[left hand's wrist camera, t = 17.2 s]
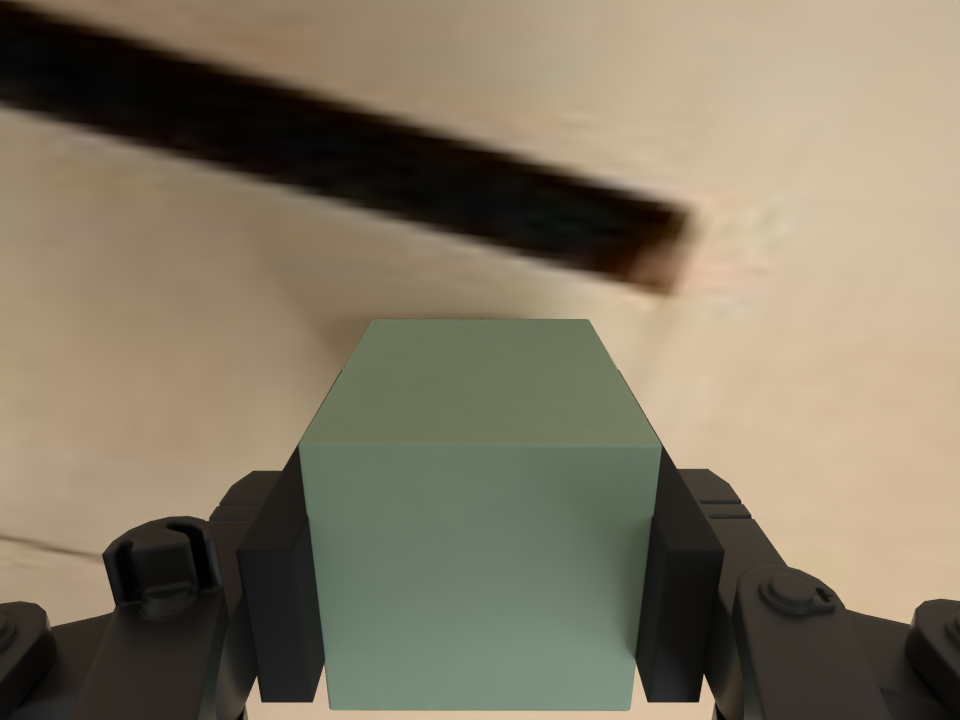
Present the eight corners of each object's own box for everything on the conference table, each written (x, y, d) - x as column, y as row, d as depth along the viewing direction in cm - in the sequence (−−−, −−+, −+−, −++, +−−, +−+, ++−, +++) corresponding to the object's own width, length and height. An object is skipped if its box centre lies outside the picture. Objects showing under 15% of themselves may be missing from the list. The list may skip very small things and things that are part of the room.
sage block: (371, 318, 14) (297, 443, 8) (589, 318, 14) (663, 444, 8) (383, 503, 16) (328, 712, 10) (577, 504, 16) (631, 713, 10)
